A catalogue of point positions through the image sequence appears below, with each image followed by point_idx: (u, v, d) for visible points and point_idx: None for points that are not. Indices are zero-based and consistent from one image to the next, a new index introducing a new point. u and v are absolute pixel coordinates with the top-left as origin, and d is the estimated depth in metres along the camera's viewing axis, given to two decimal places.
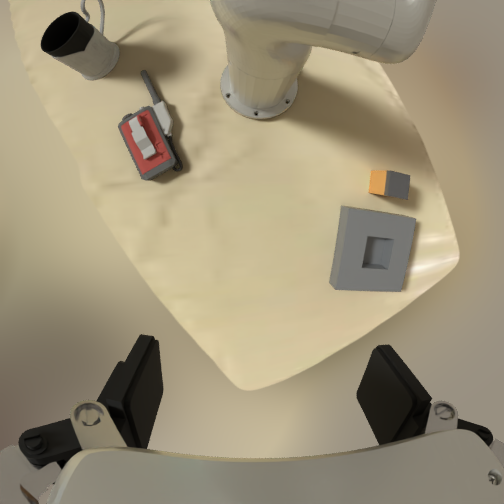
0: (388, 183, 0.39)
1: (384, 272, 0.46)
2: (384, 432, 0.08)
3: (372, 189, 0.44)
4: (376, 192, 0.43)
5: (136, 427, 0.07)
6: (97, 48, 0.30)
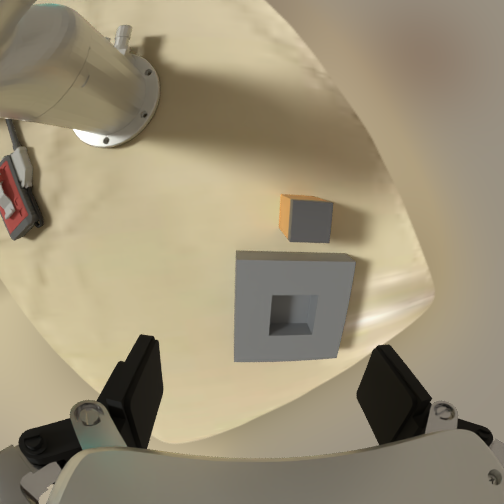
0: (291, 221, 0.26)
1: (306, 338, 0.34)
2: (384, 432, 0.08)
3: (280, 223, 0.32)
4: (283, 230, 0.30)
5: (136, 427, 0.07)
6: None
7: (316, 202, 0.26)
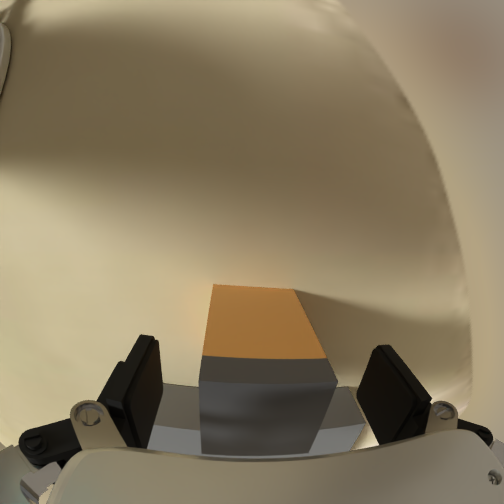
0: None
1: None
2: (384, 432, 0.08)
3: None
4: None
5: (136, 427, 0.07)
6: None
7: (281, 384, 0.07)
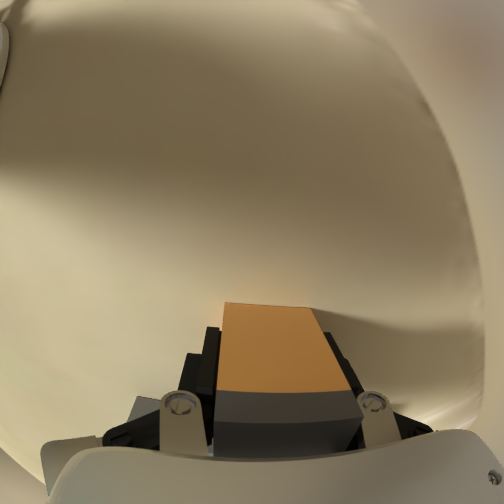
0: None
1: None
2: None
3: None
4: None
5: None
6: None
7: (305, 422, 0.06)
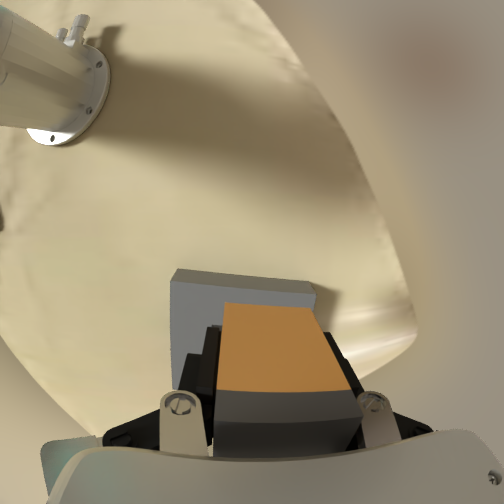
0: None
1: None
2: None
3: None
4: None
5: None
6: None
7: (304, 422, 0.06)
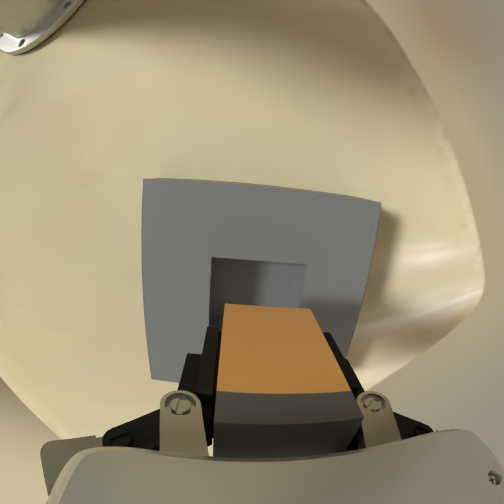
0: None
1: None
2: None
3: None
4: None
5: None
6: None
7: (304, 423, 0.06)
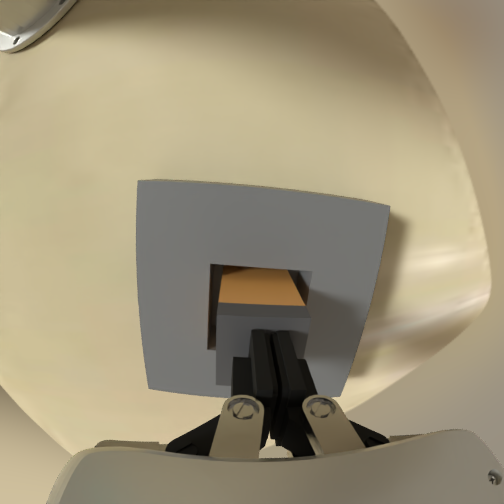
0: None
1: None
2: (271, 420, 0.09)
3: None
4: None
5: (272, 413, 0.08)
6: None
7: (272, 318, 0.12)
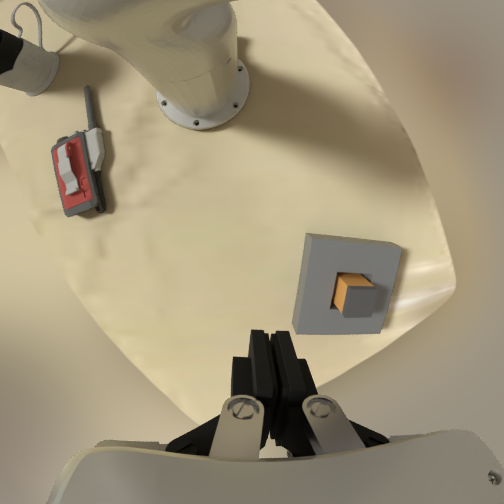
0: (347, 303, 0.34)
1: None
2: (271, 420, 0.09)
3: (332, 295, 0.39)
4: (335, 303, 0.38)
5: (272, 413, 0.08)
6: (28, 63, 0.22)
7: (366, 289, 0.33)
